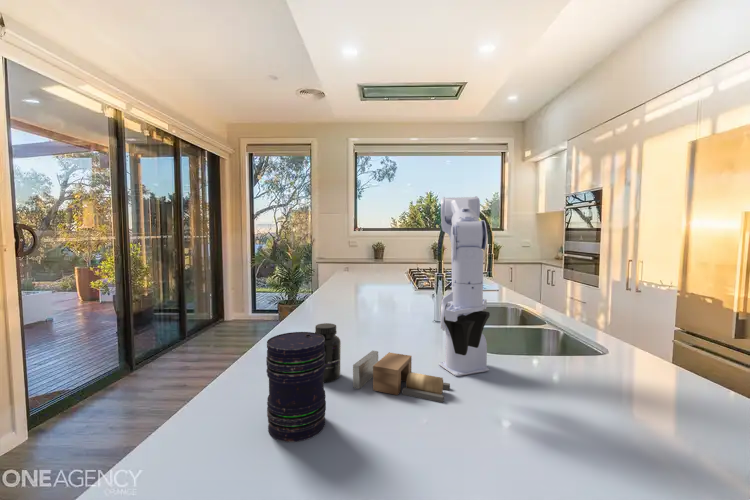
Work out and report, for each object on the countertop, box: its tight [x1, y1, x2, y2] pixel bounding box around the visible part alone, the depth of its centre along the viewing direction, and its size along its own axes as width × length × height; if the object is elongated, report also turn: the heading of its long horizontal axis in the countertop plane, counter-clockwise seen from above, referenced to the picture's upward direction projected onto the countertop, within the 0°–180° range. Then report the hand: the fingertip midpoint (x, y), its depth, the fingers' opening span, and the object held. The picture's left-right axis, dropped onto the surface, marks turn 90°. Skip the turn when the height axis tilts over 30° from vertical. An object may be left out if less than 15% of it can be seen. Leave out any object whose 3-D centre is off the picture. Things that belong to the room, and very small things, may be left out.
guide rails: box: [401, 381, 451, 403], centre depth 71 cm, size 8×7×1 cm
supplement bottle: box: [314, 322, 342, 383], centre depth 78 cm, size 7×7×12 cm
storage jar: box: [266, 331, 327, 443], centre depth 58 cm, size 10×10×15 cm
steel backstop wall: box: [352, 350, 379, 390], centre depth 77 cm, size 2×10×5 cm, turn 156°
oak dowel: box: [405, 371, 444, 395], centre depth 71 cm, size 7×4×4 cm, turn 66°
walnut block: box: [372, 352, 413, 396], centre depth 74 cm, size 6×9×5 cm, turn 156°
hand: (466, 350), depth 68 cm, fingers open, 5 cm apart
